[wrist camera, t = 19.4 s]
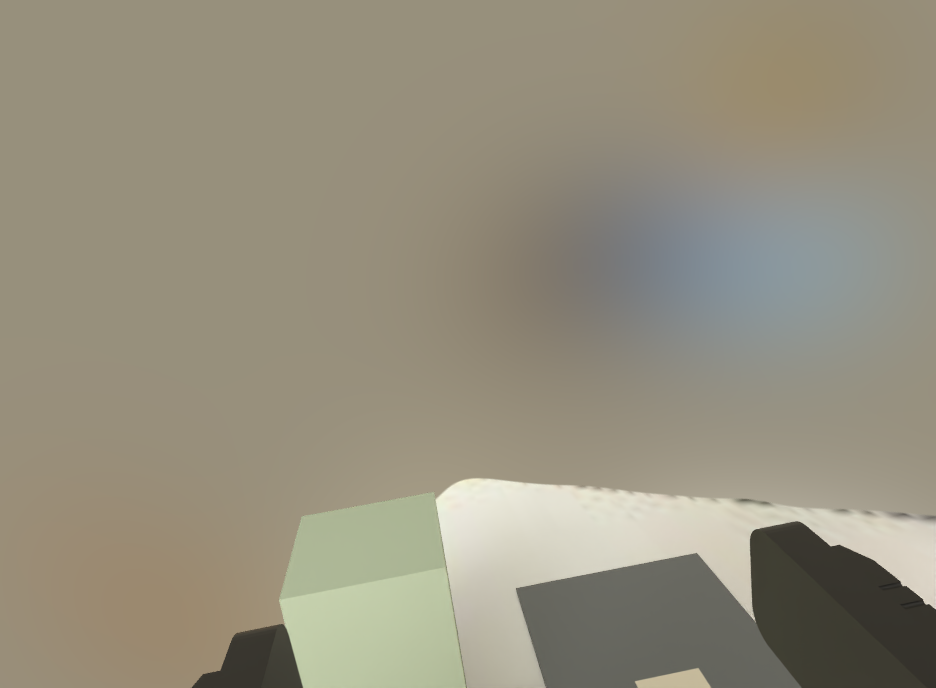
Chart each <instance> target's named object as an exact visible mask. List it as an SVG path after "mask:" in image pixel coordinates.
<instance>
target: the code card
mask: <svg viewBox="0 0 936 688" xmlns="http://www.w3.org/2000/svg"><path fill="white" fill-rule="evenodd" d="M516 590H517V594H518V597H519V600H520V603H521V607H522V610H523V613H524V616H525V620H526V623H527V626H528V629H529V633H530V636H531V639H532V642H533V646H534V649H535V652H536V655H537V659H538V662H539V665H540V668H541V672H542V675H543V678H544V681H545V685H546V688H802V687H801V686H800V685H799V684H798V682H797V681H796V680H795V679H794V677H793V676H792V675H791V674H790V672H789V671H788V670H787V669H786V667H785V666H784V665H783V664H782V662H781V661H780V660H779V659H778V657H777V656H776V655H775V654H774V652H773V651H772V650H771V649H770V647H769V646H768V645H767V643H766V642H765V640H764V638H763V637H762V635H761V633H760V630H759V628H758V626H757V624H756V623H755V621H754V620H753V619H752V618H751V617H750V616H749V614H748V613H747V612H746V611H745V610H744V608H743V607H742V606H741V605H740V604H739V603H738V601H737V600H736V599H735V598H734V597H733V595H732V594H731V593H730V592H729V591H728V589H727V588H726V587H725V586H724V585H723V584H722V582H721V581H720V580H719V579H718V578H717V576H716V575H715V574H714V573H713V572H712V571H711V569H710V568H709V567H708V566H707V565H706V563H705V562H704V561H703V560H702V559H701V558H700V556H699V555H698V554H697V553H695V554H690V555H685V556H680V557H675V558H670V559H665V560H659V561H654V562H649V563H644V564H639V565H634V566H629V567H623V568H618V569H613V570H608V571H603V572H598V573H592V574H587V575H582V576H577V577H572V578H567V579H562V580H556V581H551V582H546V583H541V584H536V585H531V586H526V587H520V588H516Z"/></svg>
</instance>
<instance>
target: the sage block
mask: <svg viewBox="0 0 936 688" xmlns="http://www.w3.org/2000/svg"><path fill="white" fill-rule="evenodd" d="M279 601H280V605H281V609H282V614H283V618H284V622H285V626H286V629H287V631H288V634H289V638H290V641H291V645H292V649H293V652H294V656H295V660H296V663H297V667H298V671H299V674H300V678H301V682H302V685H303V688H467V687H466V681H465V675H464V669H463V663H462V657H461V651H460V645H459V639H458V633H457V627H456V621H455V615H454V609H453V603H452V597H451V591H450V585H449V579H448V573H447V567H446V561H445V555H444V549H443V543H442V537H441V531H440V525H439V519H438V513H437V507H436V501H435V495H434V492H432V493H426V494H421V495H415V496H410V497H405V498H399V499H394V500H388V501H383V502H378V503H372V504H367V505H361V506H356V507H351V508H346V509H340V510H335V511H330V512H324V513H319V514H313V515H308V516H302V518H301V522H300V525H299V529H298V532H297V536H296V540H295V544H294V547H293V551H292V554H291V558H290V562H289V566H288V569H287V573H286V577H285V580H284V584H283V588H282V592H281V595H280V599H279Z"/></svg>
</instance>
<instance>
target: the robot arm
mask: <svg viewBox="0 0 936 688" xmlns="http://www.w3.org/2000/svg"><path fill="white" fill-rule="evenodd" d="M750 556H751V583H752V606H753V613H754V617H755V620H756V623H757V626H758V628H759V630H760V633H761V635H762V637H763V638H764V640H765V642H766V643H767V645H768V646H769V647H770V649H771V650H772V651H773V652H774V654H775V655H776V656H777V657H778V659H779V660H780V661H781V662H782V664H783V665H784V666H785V667H786V669H787V670H788V671H789V672H790V674H791V675H792V676H793V677H794V679H795V680H796V681H797V682H798V684H799V685H800V686H801V687H802V688H936V609H934V608H933V607H932V606H931V605H929V604H928V605H925V603H924V601H923V599H922V598H920V597H919V596H918V595H917V594H915V593H914V592H913V591H912V590H910V589H909V588H908V587H907V586H904V587H903V586H902V585H901V582H900V581H899V580H898V579H897V578H895V577H894V576H893V575H892V574H890V573H889V572H888V571H886V570H885V569H884V568H883V567H881V566H880V565H879V564H878V563H876V562H875V561H874V560H872V559H870V558H867V557H865V556H863V555H861V554H859V553H856V552H854V551H852V550H850V549H848V548H845V547H843V546H841V545H836V546H830V545H828V544H827V543H826V542H825V541H824V540H822V539H821V538H820V537H819V536H818V535H816V534H815V533H814V532H813V531H812V530H810V529H809V528H808V527H807V526H806V525H804V524H803V523H801V522H797V521H796V522H790V523H786V524H781V525H776V526H771V527H766V528H761V529H756V530H754V531H753V532H752V534H751V537H750ZM192 688H303V685H302V682H301V678H300V674H299V671H298V667H297V663H296V660H295V656H294V652H293V649H292V645H291V641H290V638H289V634H288V631H287V629H286V627H285V626H284V625H283V624H279V625H275V626H270V627H265V628H260V629H255V630H250V631H245V632H240V633H236V634H235V635H234V637H233V638H232V641H231V643H230V646H229V649H228V652H227V654H226V657H225V660H224V663H223V665H222V668H221V671H217V672H212V673H207V674H203V675H202V676H201V677H200V679H199V680H198V681H197V682H196V683H195V685H194V686H193V687H192Z"/></svg>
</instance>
